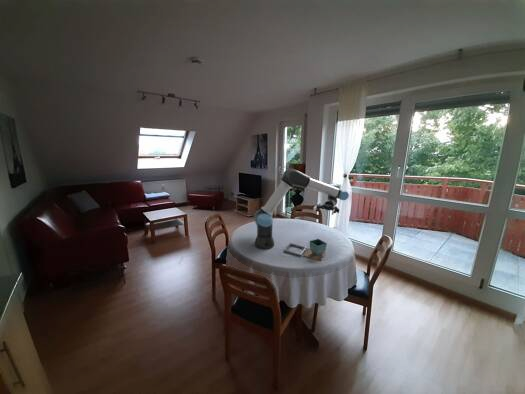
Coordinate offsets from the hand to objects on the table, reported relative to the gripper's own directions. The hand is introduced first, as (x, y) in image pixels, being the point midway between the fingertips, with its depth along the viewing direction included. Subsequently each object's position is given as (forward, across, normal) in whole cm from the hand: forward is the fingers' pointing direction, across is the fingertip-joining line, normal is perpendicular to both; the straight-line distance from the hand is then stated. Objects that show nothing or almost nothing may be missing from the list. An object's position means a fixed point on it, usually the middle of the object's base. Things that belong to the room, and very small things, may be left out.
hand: (322, 211), depth 153 cm
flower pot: (+12, -2, -28) cm, 31 cm away
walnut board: (+13, 0, -29) cm, 32 cm away
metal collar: (+14, +14, -29) cm, 35 cm away
